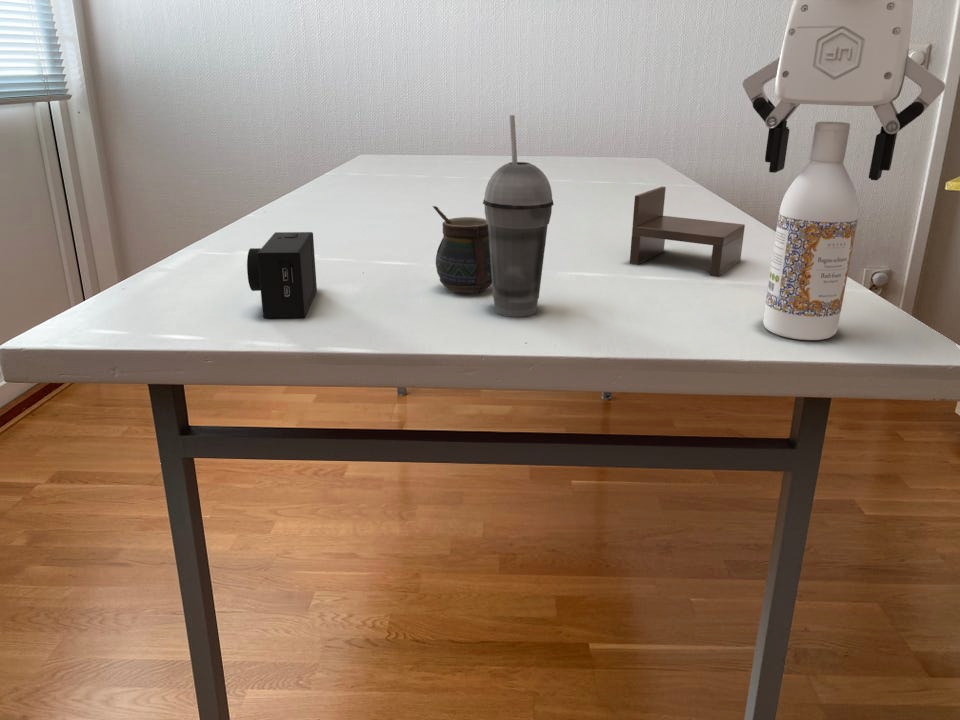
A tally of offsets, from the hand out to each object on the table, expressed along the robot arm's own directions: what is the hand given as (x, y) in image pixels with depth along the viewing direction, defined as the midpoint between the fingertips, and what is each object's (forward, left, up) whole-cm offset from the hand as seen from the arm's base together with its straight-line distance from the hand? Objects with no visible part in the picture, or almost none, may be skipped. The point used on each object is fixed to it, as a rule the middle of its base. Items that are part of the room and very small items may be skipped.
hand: (824, 173), depth 72 cm
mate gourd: (+36, +6, -16) cm, 40 cm away
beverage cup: (+27, +10, -16) cm, 33 cm away
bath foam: (0, 0, -16) cm, 16 cm away
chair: (+19, -22, -15) cm, 33 cm away
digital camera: (+49, +22, -16) cm, 56 cm away
